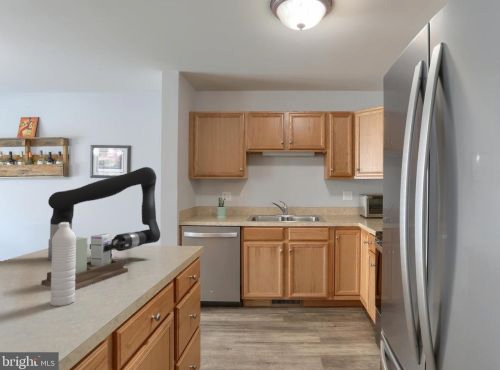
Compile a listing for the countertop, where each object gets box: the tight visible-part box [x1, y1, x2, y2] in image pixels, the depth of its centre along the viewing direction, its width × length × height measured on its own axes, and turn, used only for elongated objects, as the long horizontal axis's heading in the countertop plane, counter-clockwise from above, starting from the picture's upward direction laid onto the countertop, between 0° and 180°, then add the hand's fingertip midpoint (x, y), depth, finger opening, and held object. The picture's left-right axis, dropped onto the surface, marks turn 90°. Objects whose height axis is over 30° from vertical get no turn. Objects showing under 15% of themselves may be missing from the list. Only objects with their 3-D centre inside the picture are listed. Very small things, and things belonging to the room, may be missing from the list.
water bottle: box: [49, 222, 77, 307], centre depth 94 cm, size 9×6×25 cm
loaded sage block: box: [75, 236, 88, 274], centre depth 115 cm, size 6×6×15 cm
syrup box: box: [90, 233, 113, 266], centre depth 127 cm, size 6×6×14 cm
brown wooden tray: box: [40, 259, 129, 291], centre depth 121 cm, size 16×26×4 cm, turn 160°
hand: (97, 247), depth 125 cm, fingers open, 7 cm apart
